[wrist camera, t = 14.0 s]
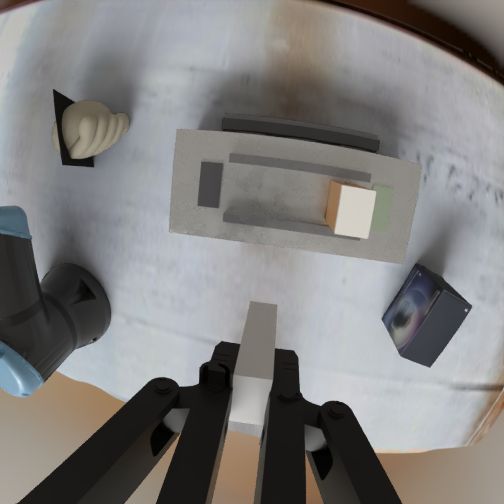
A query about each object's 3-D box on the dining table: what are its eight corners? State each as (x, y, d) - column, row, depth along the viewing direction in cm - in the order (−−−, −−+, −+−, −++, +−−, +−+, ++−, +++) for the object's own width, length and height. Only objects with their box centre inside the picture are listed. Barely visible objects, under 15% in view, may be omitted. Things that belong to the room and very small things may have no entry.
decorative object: (128, 94, 41) (138, 154, 44) (69, 113, 40) (78, 172, 42) (108, 68, 29) (119, 146, 31) (34, 97, 27) (43, 172, 30)
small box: (413, 260, 42) (444, 287, 32) (442, 277, 43) (475, 305, 33) (378, 318, 45) (398, 357, 35) (408, 332, 46) (431, 369, 36)
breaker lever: (325, 220, 34) (334, 233, 27) (331, 180, 32) (342, 185, 26) (352, 224, 33) (367, 238, 27) (359, 185, 32) (376, 191, 26)
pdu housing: (188, 219, 44) (164, 234, 35) (196, 131, 40) (173, 124, 31) (383, 246, 42) (406, 268, 33) (398, 160, 38) (427, 161, 29)
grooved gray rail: (224, 135, 40) (220, 134, 37) (227, 114, 39) (223, 112, 37) (372, 156, 39) (377, 156, 36) (374, 136, 38) (380, 134, 35)
